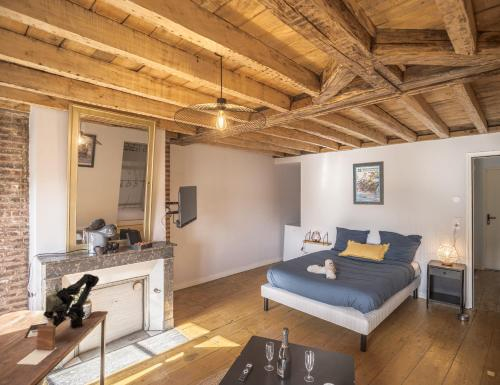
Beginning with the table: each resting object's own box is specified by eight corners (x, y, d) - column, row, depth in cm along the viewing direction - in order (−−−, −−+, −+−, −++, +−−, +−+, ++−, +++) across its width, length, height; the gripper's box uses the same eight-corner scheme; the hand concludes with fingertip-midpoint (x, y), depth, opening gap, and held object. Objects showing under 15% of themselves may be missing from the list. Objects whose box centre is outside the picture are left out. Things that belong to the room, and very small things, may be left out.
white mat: (38, 347, 172) (38, 347, 172) (57, 348, 172) (57, 347, 172) (16, 364, 155) (16, 363, 155) (36, 365, 155) (36, 364, 155)
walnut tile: (38, 348, 171) (40, 325, 171) (54, 348, 171) (55, 325, 171) (36, 349, 169) (37, 326, 169) (52, 350, 169) (53, 327, 169)
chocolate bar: (46, 323, 202) (41, 334, 186) (46, 324, 202) (41, 336, 186) (30, 325, 197) (24, 337, 181) (30, 326, 197) (24, 338, 181)
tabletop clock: (64, 320, 208) (66, 286, 208) (50, 324, 201) (52, 289, 201) (58, 314, 217) (60, 281, 218) (44, 317, 211) (46, 284, 211)
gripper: (46, 298, 181) (32, 323, 170) (75, 299, 182) (63, 324, 171) (53, 305, 189) (40, 330, 178) (81, 306, 190) (70, 331, 178)
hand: (53, 328), depth 176 cm, fingers closed
